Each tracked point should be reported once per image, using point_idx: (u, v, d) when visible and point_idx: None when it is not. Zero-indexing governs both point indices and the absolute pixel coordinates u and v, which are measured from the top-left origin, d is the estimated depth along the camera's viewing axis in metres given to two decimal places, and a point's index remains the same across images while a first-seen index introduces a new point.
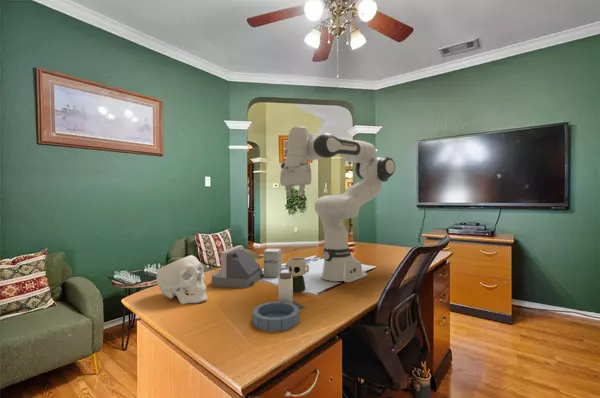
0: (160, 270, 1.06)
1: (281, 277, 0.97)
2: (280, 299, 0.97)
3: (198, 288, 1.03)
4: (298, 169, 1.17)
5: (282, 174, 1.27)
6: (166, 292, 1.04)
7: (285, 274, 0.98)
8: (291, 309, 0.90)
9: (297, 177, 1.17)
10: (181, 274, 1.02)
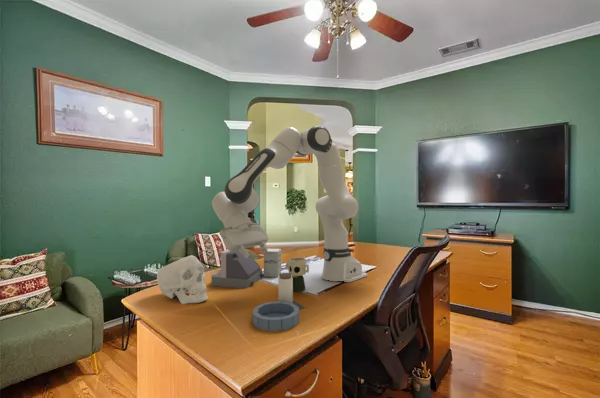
0: (160, 270, 1.06)
1: (281, 277, 0.97)
2: (280, 299, 0.97)
3: (198, 288, 1.03)
4: None
5: None
6: (166, 292, 1.04)
7: (285, 274, 0.98)
8: (291, 309, 0.90)
9: None
10: (181, 274, 1.02)
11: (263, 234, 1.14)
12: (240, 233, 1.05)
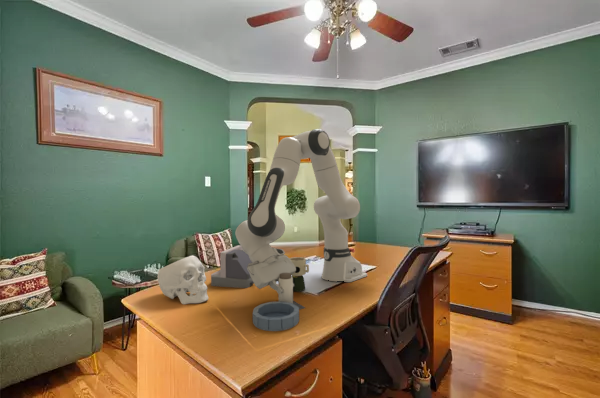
0: (161, 271, 1.05)
1: (281, 277, 0.97)
2: (280, 299, 0.97)
3: (199, 288, 1.03)
4: None
5: None
6: (167, 292, 1.04)
7: (285, 274, 0.98)
8: (291, 309, 0.90)
9: None
10: (182, 274, 1.02)
11: (290, 265, 1.07)
12: (268, 267, 0.98)
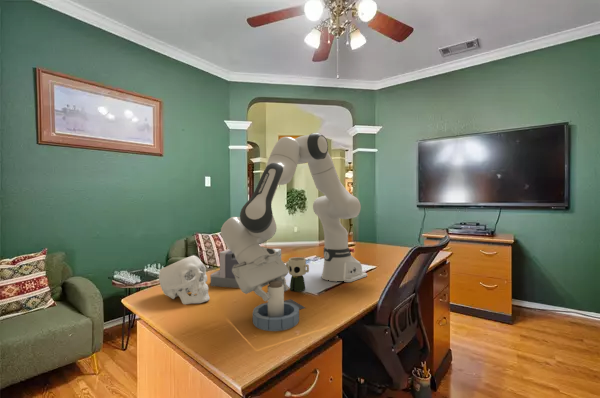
0: (162, 271, 1.05)
1: (271, 285, 0.86)
2: (269, 310, 0.86)
3: (200, 289, 1.03)
4: None
5: None
6: (168, 292, 1.04)
7: (275, 282, 0.87)
8: (291, 309, 0.90)
9: None
10: (183, 274, 1.02)
11: (282, 267, 0.96)
12: (256, 269, 0.87)
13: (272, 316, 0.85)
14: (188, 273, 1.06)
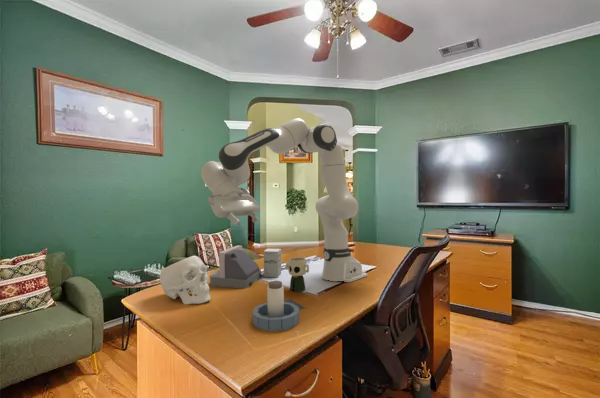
0: (163, 271, 1.05)
1: (270, 286, 0.86)
2: (269, 311, 0.85)
3: (201, 289, 1.03)
4: None
5: None
6: (169, 292, 1.04)
7: (275, 283, 0.87)
8: (291, 309, 0.90)
9: None
10: (184, 274, 1.01)
11: (254, 204, 1.10)
12: (230, 201, 1.01)
13: (272, 317, 0.85)
14: (189, 273, 1.05)
